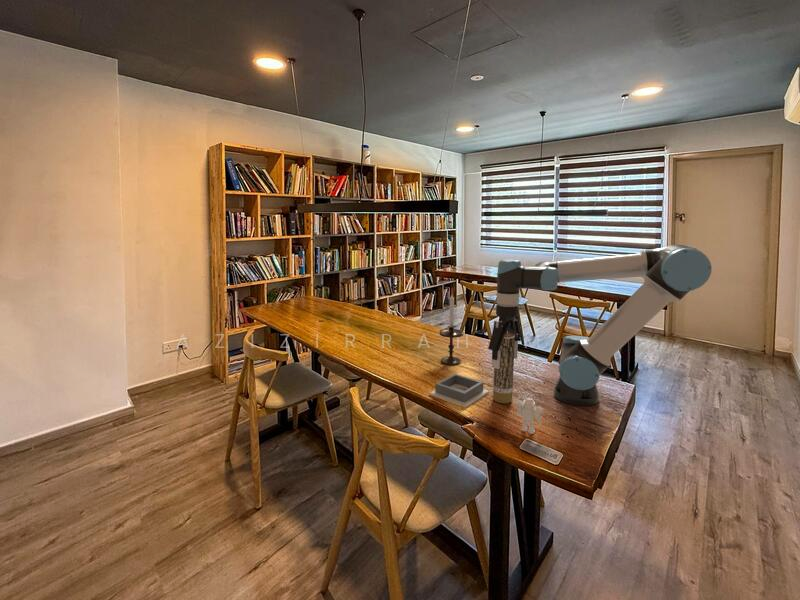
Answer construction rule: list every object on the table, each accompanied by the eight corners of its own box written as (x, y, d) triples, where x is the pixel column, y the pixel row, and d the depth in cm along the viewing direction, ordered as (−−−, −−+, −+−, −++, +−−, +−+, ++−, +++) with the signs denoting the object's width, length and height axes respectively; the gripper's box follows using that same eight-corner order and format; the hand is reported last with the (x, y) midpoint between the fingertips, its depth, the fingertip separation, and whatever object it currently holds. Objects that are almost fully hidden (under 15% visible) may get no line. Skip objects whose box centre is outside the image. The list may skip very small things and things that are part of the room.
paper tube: (497, 394, 149) (499, 330, 144) (515, 399, 145) (517, 333, 140) (489, 401, 144) (491, 335, 139) (507, 406, 140) (510, 338, 135)
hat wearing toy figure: (511, 428, 125) (513, 393, 123) (517, 423, 128) (519, 389, 126) (539, 438, 119) (542, 402, 117) (544, 433, 122) (547, 397, 120)
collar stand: (488, 393, 150) (489, 382, 149) (465, 408, 139) (465, 396, 138) (453, 381, 161) (454, 371, 160) (429, 394, 149) (429, 383, 148)
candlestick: (442, 356, 190) (443, 285, 183) (464, 359, 186) (466, 286, 179) (436, 364, 180) (437, 289, 173) (460, 367, 176) (461, 290, 169)
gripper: (513, 297, 148) (511, 351, 153) (479, 309, 130) (477, 369, 135) (532, 300, 143) (529, 355, 148) (499, 312, 126) (497, 375, 130)
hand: (504, 362), depth 141 cm, fingers open, 12 cm apart
